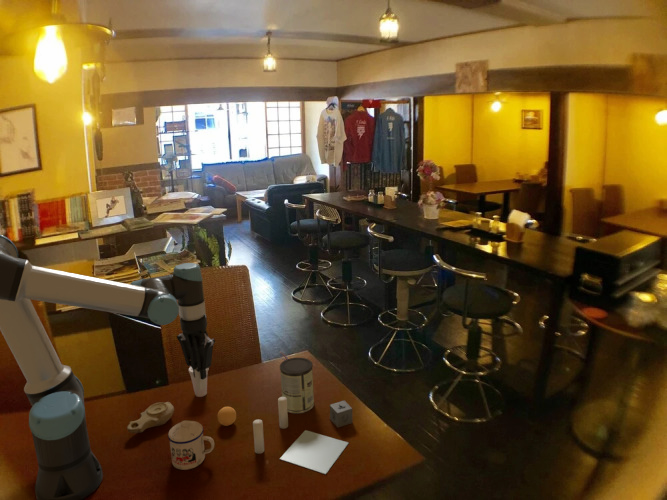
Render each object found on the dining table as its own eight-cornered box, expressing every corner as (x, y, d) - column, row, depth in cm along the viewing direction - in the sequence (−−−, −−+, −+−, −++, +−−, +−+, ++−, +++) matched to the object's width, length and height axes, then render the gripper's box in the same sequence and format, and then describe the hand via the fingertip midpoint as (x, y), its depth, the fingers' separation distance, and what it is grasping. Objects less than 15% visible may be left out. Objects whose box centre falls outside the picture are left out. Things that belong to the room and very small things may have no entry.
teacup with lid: (165, 470, 132) (160, 431, 129) (179, 448, 141) (174, 411, 138) (210, 472, 131) (206, 433, 128) (220, 449, 140) (217, 413, 137)
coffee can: (285, 395, 166) (283, 356, 163) (316, 396, 165) (314, 357, 161) (278, 413, 156) (276, 372, 153) (311, 414, 155) (310, 373, 152)
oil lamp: (126, 440, 145) (123, 425, 144) (146, 412, 159) (144, 398, 157) (162, 441, 144) (160, 425, 143) (179, 412, 158) (177, 398, 157)
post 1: (253, 452, 138) (250, 423, 136) (258, 446, 141) (256, 418, 138) (260, 454, 137) (258, 426, 135) (266, 449, 139) (264, 420, 137)
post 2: (277, 427, 149) (276, 400, 147) (282, 422, 151) (281, 396, 149) (285, 429, 148) (283, 402, 146) (289, 424, 150) (288, 398, 148)
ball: (214, 426, 150) (212, 410, 149) (226, 417, 155) (224, 401, 153) (229, 431, 148) (227, 415, 146) (240, 421, 152) (239, 405, 151)
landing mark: (279, 459, 135) (279, 458, 135) (305, 430, 147) (305, 430, 147) (325, 474, 129) (325, 473, 129) (348, 443, 141) (348, 442, 141)
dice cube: (337, 428, 148) (337, 413, 147) (330, 419, 153) (329, 404, 151) (352, 423, 151) (352, 408, 149) (344, 414, 155) (344, 400, 154)
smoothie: (190, 390, 170) (186, 353, 167) (210, 387, 172) (206, 350, 168) (191, 400, 164) (187, 361, 161) (211, 397, 166) (207, 358, 163)
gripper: (218, 314, 147) (226, 385, 153) (184, 308, 153) (193, 377, 159) (201, 323, 141) (210, 398, 147) (166, 317, 146) (176, 388, 153)
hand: (201, 387), depth 153 cm, fingers closed
